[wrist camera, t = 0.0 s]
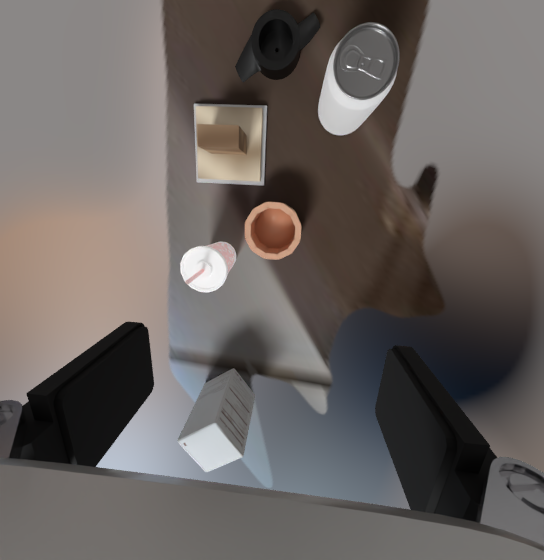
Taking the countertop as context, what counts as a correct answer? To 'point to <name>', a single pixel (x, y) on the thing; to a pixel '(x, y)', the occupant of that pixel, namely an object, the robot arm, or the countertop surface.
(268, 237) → the bowl
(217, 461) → the supplement box
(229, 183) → the mat
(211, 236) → the countertop surface
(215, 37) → the countertop surface
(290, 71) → the black winged knob
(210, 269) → the beverage cup
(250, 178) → the lid
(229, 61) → the countertop surface
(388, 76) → the can
